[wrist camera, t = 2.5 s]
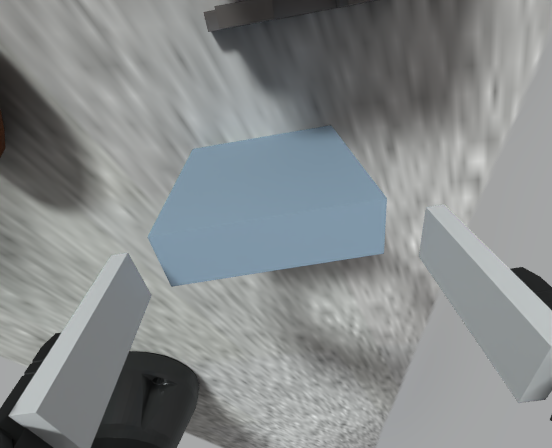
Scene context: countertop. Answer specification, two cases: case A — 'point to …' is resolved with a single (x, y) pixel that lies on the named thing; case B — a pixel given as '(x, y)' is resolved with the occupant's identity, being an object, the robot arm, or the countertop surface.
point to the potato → (2, 135)
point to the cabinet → (266, 11)
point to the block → (268, 208)
